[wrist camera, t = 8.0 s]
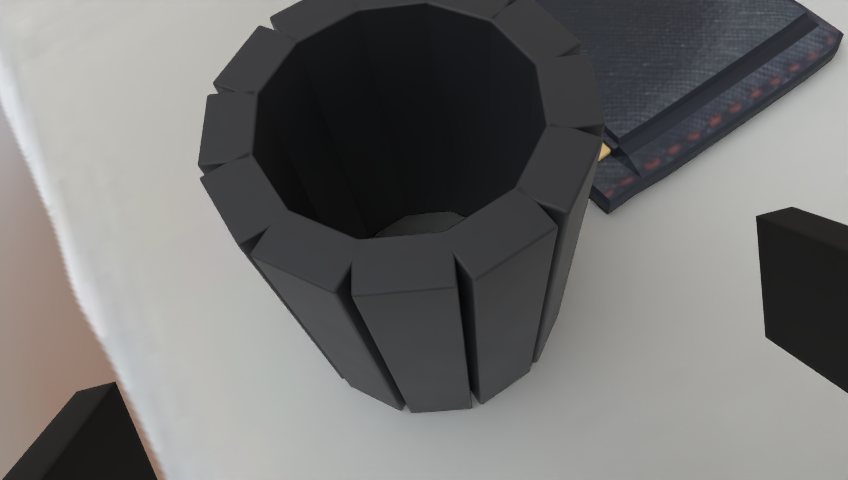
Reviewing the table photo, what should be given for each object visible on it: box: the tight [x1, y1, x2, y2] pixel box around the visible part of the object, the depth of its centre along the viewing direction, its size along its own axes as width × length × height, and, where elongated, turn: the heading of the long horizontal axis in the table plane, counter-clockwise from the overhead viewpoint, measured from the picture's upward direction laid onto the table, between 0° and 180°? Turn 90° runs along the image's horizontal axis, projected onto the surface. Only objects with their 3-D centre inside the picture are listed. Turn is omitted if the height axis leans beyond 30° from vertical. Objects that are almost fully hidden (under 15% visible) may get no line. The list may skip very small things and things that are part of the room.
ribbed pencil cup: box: [198, 0, 605, 413], centre depth 21 cm, size 10×10×12 cm
